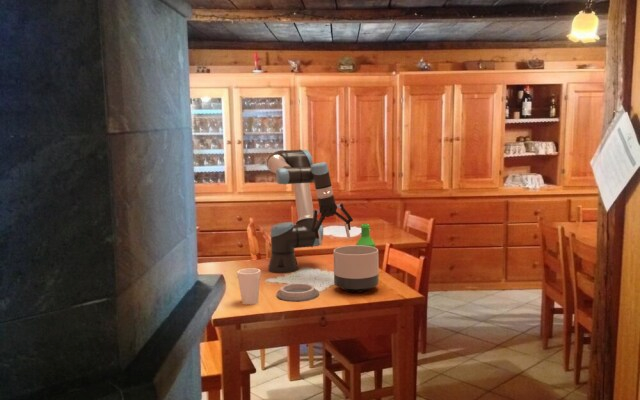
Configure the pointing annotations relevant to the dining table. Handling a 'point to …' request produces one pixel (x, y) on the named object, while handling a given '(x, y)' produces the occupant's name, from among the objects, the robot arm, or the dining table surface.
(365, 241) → the bottle
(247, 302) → the foam cup
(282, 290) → the collar coaster
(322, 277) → the dining table surface
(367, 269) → the planter
